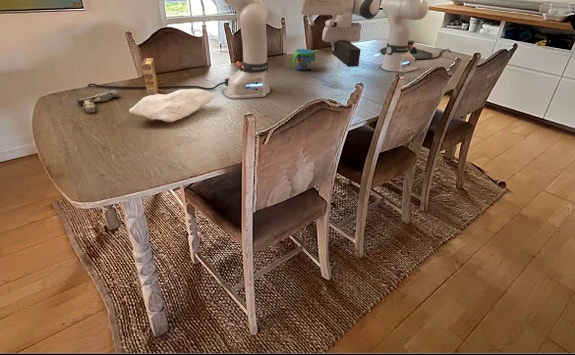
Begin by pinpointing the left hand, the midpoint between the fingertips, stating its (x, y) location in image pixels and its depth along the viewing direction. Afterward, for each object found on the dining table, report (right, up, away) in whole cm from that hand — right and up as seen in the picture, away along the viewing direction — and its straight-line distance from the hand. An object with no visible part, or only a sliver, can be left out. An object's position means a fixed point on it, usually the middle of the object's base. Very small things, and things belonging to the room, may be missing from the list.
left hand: (321, 25), depth 169 cm
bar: (+14, -9, +21) cm, 27 cm away
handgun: (-96, -39, -13) cm, 104 cm away
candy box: (-78, -33, -2) cm, 84 cm away
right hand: (+12, -2, +26) cm, 29 cm away
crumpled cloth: (-63, -44, -19) cm, 80 cm away
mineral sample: (+66, +15, +83) cm, 107 cm away
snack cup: (-7, -8, +42) cm, 43 cm away
